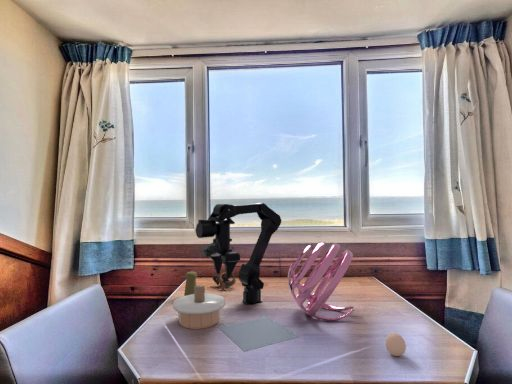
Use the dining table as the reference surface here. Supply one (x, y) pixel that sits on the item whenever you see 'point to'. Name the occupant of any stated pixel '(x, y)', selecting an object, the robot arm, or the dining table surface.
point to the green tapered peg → (190, 282)
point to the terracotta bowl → (199, 319)
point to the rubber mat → (257, 333)
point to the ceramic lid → (199, 302)
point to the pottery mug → (224, 280)
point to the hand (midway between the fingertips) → (222, 276)
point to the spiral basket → (306, 289)
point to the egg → (395, 344)
